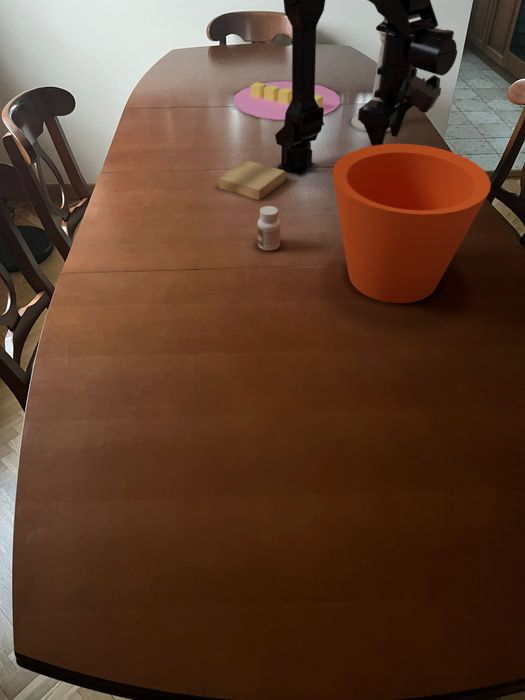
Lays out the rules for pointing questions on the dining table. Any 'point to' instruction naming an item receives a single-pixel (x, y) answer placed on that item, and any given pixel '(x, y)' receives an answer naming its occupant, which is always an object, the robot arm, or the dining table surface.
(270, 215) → the pill bottle
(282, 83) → the platter
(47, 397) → the dining table surface
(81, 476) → the dining table surface
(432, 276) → the flowerpot
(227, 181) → the birch board
